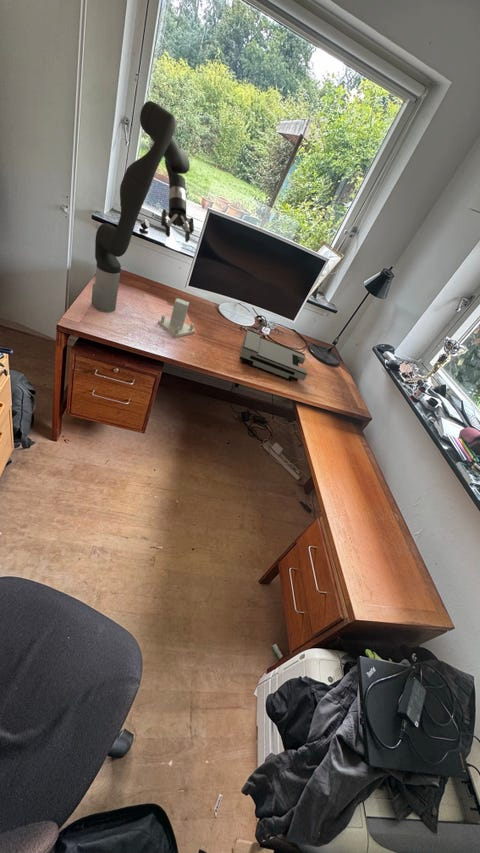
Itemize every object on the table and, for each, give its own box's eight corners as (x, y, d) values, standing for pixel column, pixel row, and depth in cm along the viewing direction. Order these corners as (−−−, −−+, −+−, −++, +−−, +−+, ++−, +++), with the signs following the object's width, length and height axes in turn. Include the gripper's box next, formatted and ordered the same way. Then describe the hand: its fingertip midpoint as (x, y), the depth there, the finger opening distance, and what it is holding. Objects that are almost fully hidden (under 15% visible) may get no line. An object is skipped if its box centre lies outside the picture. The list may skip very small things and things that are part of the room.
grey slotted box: (300, 386, 162) (308, 373, 157) (237, 362, 158) (243, 347, 153) (298, 365, 178) (306, 352, 173) (242, 343, 174) (247, 328, 169)
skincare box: (183, 325, 162) (189, 302, 154) (181, 329, 159) (188, 306, 151) (171, 321, 161) (176, 297, 153) (168, 324, 157) (174, 300, 150)
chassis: (175, 337, 154) (178, 329, 151) (157, 323, 157) (159, 314, 155) (194, 332, 163) (196, 325, 160) (176, 319, 166) (178, 311, 164)
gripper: (164, 191, 143) (164, 230, 144) (195, 202, 150) (196, 239, 151) (159, 201, 150) (159, 238, 150) (189, 211, 157) (189, 246, 157)
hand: (177, 238), depth 150 cm, fingers open, 8 cm apart
